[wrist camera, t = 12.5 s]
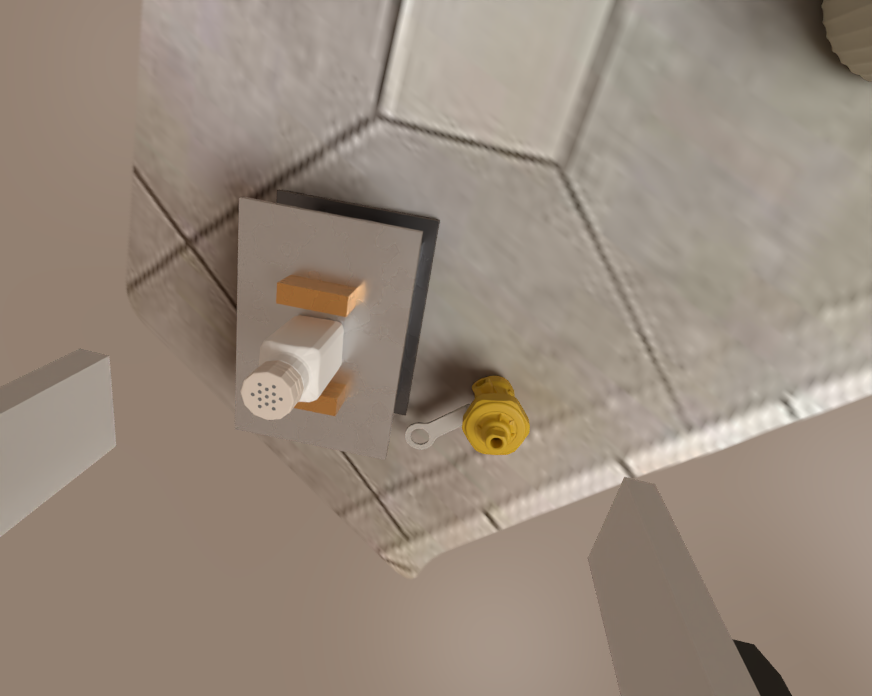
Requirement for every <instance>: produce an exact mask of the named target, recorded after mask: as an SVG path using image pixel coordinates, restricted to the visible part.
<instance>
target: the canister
mask: <svg viewBox="0 0 872 696" xmlns="http://www.w3.org/2000/svg"><path fill="white" fill-rule="evenodd" d="M821 7H822V9H823V24H824V26H825V28H826V33H827V34H826V38H827V39H828V40H829V41H830V43H831V46H832V51H833V52H834V53H836V54H837V55H838V57H839V58H840V62H841V63H842V64H844V65H846V66H848V67H849V69H850V71H851V72H852V73H854V74H857V75H860V76H861V77H862V78H863V79H865V80H866V81H869V82H872V0H823V3H822V6H821Z"/></svg>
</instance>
